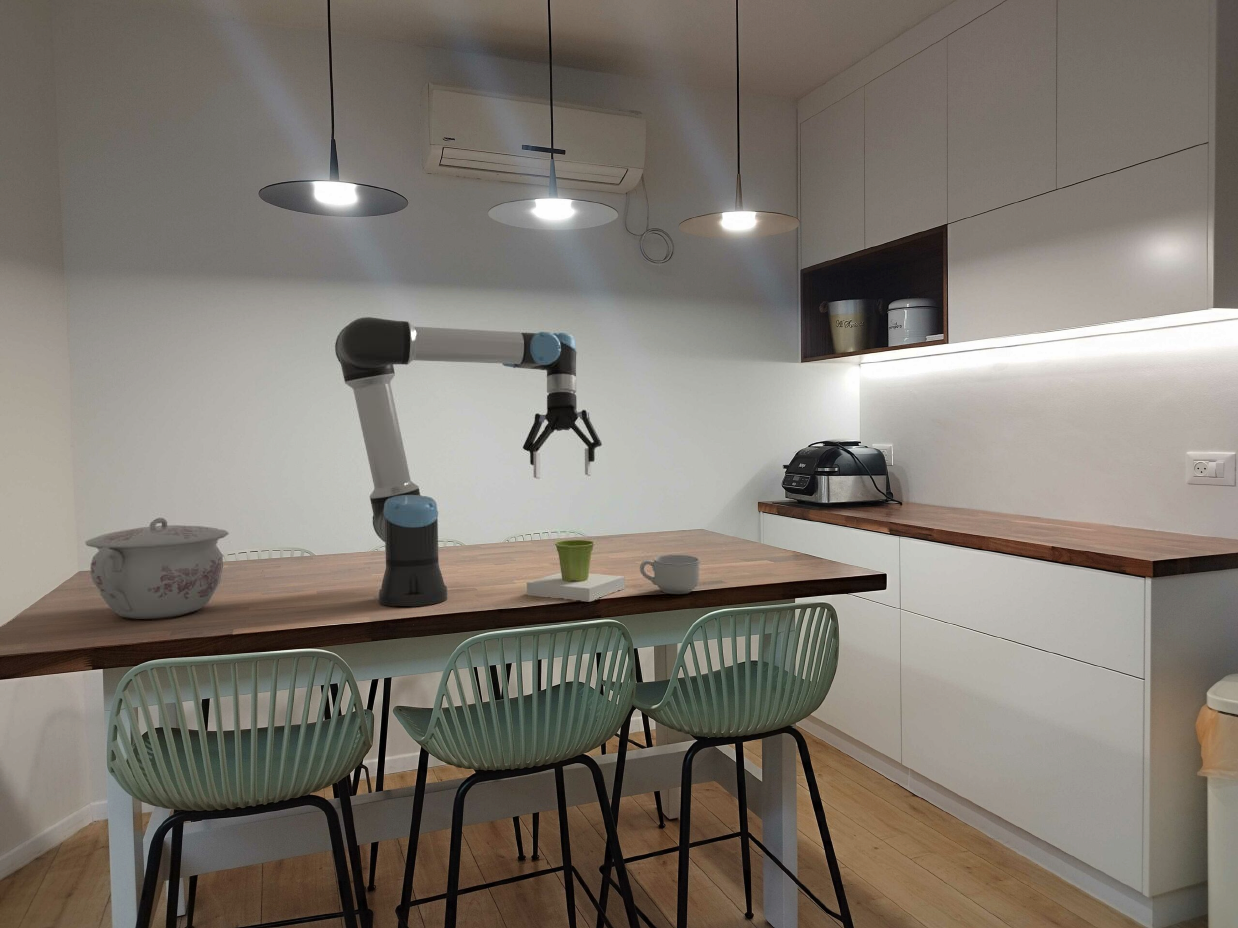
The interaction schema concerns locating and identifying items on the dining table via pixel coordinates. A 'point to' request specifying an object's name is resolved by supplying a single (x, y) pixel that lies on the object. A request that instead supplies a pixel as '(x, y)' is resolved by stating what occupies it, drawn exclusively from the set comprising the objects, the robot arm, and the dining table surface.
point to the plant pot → (574, 559)
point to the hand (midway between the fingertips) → (562, 476)
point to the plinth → (575, 587)
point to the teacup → (674, 573)
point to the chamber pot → (157, 569)
